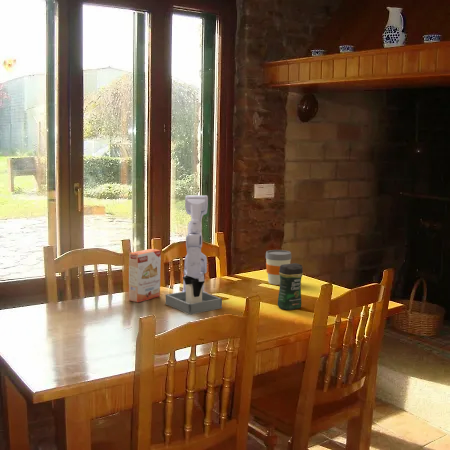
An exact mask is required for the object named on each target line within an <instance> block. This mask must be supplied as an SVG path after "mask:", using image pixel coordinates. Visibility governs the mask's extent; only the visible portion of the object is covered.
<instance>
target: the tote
mask: <svg viewBox="0 0 450 450" xmlns="http://www.w3.org/2000/svg"><path fill="white" fill-rule="evenodd" d="M205 292H206V291H204V292H203V291H202V302H198V303H192V304H189V303H187V302H186V291H185V292H182V291H179V292H173V293H167V294H165V305H167V306H169V307H171V308H173V309H176V310H178V311H180V312H183V313H185V314H187V315H194V314H199V313H204V312H209V311H215V310H218V309H219V310H220V309H223V298H222V297H218V296H216V295H213V294H210V293H208V292H207V293H205Z"/></svg>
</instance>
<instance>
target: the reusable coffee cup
mask: <svg viewBox="0 0 450 450" xmlns="http://www.w3.org/2000/svg"><path fill="white" fill-rule="evenodd" d="M292 258H293V257H292V252H291V251H290V250H285V249H284V250H283V249H272V250H271V249H270V250H266V252H265V259H266V260H265V261H266V262H265V268H266V269H265V270H266V273H267V280H268V283H269V284H271V285H277V286H280V275H279V270H280V266H281V265H284V264H291V260H292Z"/></svg>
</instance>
